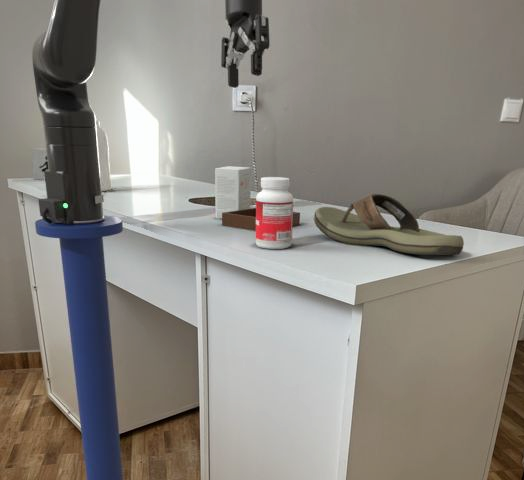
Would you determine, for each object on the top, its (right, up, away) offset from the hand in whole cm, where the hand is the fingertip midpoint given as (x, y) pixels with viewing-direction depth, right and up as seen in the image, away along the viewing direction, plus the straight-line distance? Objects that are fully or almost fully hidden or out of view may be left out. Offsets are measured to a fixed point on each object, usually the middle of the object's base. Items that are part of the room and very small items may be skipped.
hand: (244, 80), depth 115 cm
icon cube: (-72, +6, +85) cm, 112 cm away
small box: (-3, -27, +8) cm, 28 cm away
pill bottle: (+6, -39, -21) cm, 44 cm away
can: (-48, -8, +52) cm, 71 cm away
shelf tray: (+3, -30, -1) cm, 30 cm away
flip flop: (+25, -38, -18) cm, 49 cm away
